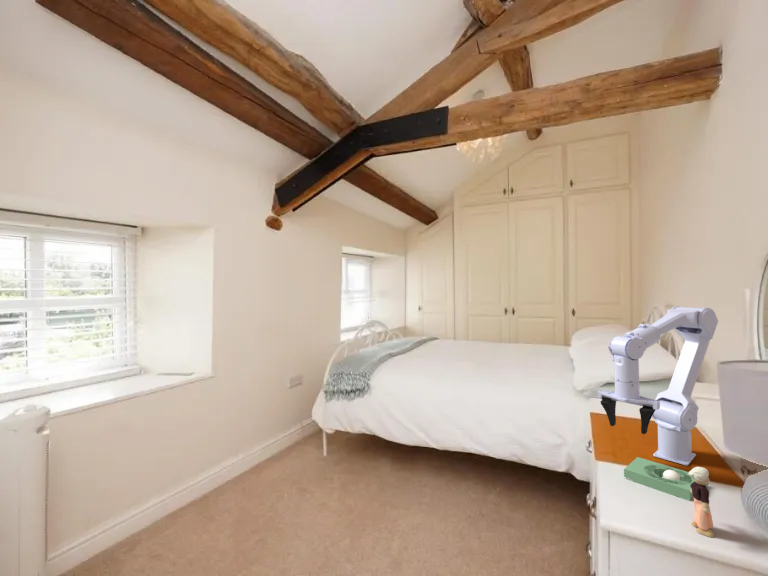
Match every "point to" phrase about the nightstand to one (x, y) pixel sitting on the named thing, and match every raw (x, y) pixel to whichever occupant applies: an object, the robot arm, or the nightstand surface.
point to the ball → (671, 475)
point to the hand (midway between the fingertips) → (628, 428)
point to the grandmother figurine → (701, 501)
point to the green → (659, 477)
